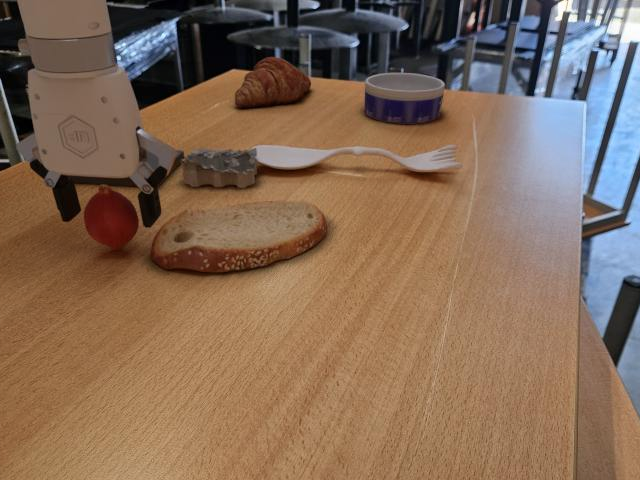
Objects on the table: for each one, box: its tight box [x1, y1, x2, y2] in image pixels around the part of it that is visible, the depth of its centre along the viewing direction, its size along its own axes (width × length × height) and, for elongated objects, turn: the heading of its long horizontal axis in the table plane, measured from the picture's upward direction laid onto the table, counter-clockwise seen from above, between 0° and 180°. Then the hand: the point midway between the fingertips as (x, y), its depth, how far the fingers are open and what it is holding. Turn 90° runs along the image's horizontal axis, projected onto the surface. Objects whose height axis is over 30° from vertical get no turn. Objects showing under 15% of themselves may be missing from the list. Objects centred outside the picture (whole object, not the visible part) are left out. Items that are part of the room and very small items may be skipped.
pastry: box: [234, 56, 312, 109], centre depth 119 cm, size 17×15×8 cm
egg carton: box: [180, 147, 258, 189], centre depth 84 cm, size 11×8×4 cm
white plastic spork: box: [250, 144, 464, 173], centre depth 88 cm, size 9×32×4 cm, turn 85°
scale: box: [68, 149, 185, 188], centre depth 86 cm, size 14×12×3 cm
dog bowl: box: [364, 72, 446, 125], centre depth 112 cm, size 15×15×6 cm
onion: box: [83, 184, 140, 251], centre depth 65 cm, size 6×6×8 cm
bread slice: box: [150, 199, 328, 274], centre depth 68 cm, size 18×18×4 cm
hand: (111, 219), depth 65 cm, fingers open, 9 cm apart
